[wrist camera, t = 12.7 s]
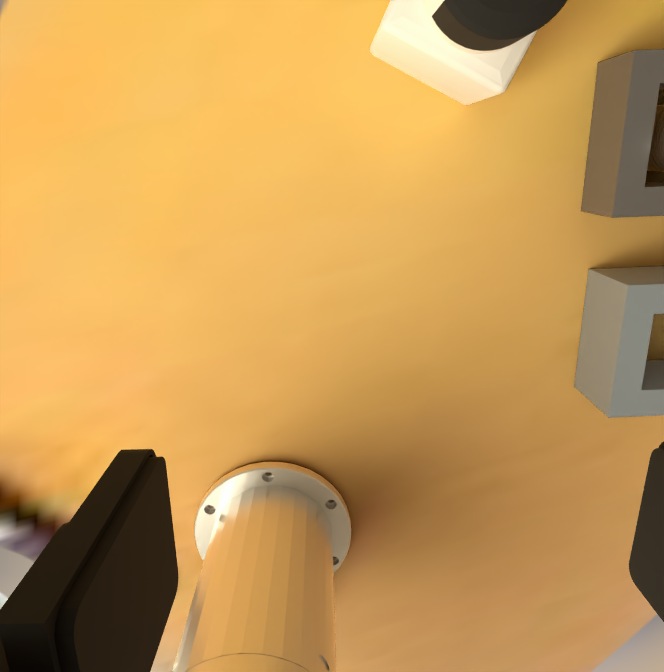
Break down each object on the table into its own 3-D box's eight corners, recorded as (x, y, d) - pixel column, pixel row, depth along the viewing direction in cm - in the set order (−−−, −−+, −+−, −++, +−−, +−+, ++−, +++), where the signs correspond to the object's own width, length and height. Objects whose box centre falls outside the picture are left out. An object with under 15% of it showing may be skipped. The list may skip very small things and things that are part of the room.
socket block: (692, 381, 40) (742, 411, 35) (574, 386, 40) (608, 417, 35) (716, 263, 37) (774, 279, 32) (588, 268, 37) (627, 285, 32)
